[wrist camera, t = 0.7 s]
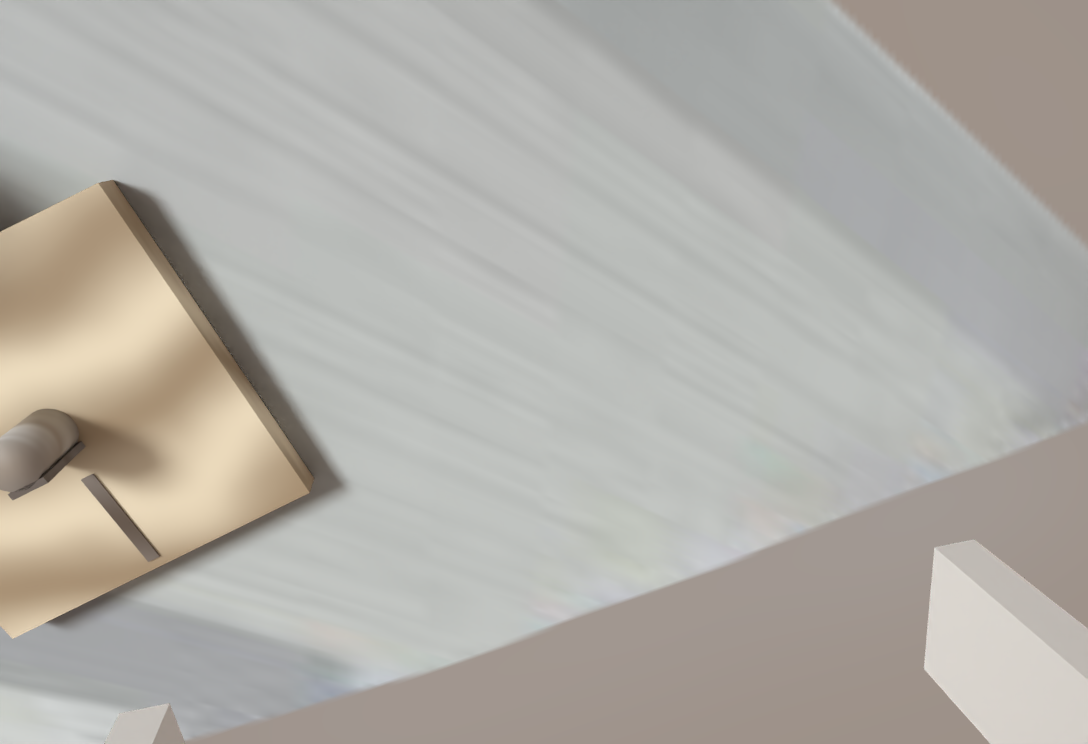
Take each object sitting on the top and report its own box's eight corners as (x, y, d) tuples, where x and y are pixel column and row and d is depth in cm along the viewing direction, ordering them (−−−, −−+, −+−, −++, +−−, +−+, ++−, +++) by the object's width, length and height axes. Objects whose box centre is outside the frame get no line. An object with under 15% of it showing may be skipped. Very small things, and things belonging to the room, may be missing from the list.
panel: (-225, 348, 31) (-341, 389, 26) (113, 179, 31) (57, 191, 26) (28, 618, 37) (-30, 692, 32) (314, 478, 36) (297, 531, 32)
